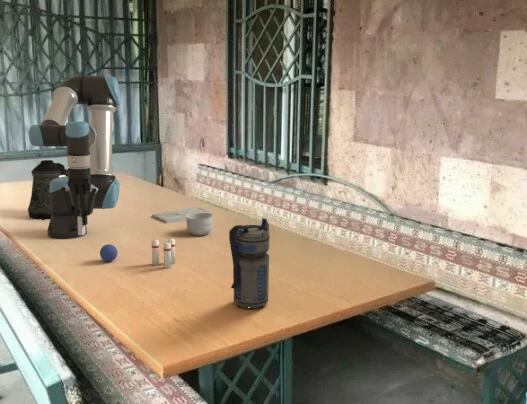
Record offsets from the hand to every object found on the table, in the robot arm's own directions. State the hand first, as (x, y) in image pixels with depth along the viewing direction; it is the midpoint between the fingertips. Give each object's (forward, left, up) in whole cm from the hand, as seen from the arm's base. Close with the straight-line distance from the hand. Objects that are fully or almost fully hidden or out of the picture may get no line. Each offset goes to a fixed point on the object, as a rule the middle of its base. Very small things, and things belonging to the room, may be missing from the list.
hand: (81, 234), depth 215 cm
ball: (+9, 0, -6) cm, 11 cm away
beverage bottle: (+64, -30, -10) cm, 72 cm away
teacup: (+31, +43, -10) cm, 54 cm away
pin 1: (+31, -2, -9) cm, 33 cm away
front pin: (+26, 0, -9) cm, 28 cm away
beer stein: (-43, +58, -10) cm, 73 cm away
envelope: (+17, +69, -10) cm, 71 cm away
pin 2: (+31, +3, -9) cm, 33 cm away
